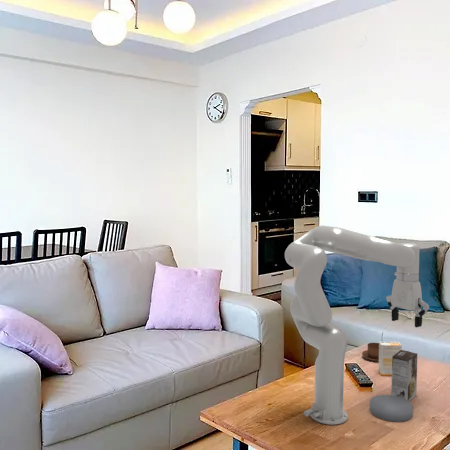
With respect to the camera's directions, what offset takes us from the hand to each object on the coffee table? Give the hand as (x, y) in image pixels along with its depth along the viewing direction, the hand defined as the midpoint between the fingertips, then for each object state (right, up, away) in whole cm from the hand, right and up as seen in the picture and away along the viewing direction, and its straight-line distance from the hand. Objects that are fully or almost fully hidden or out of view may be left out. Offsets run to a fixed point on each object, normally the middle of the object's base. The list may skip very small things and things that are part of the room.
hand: (406, 323), depth 178 cm
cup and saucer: (+2, -25, +42) cm, 49 cm away
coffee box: (0, -28, +2) cm, 28 cm away
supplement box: (+2, -26, +24) cm, 36 cm away
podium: (-9, -29, -10) cm, 32 cm away
